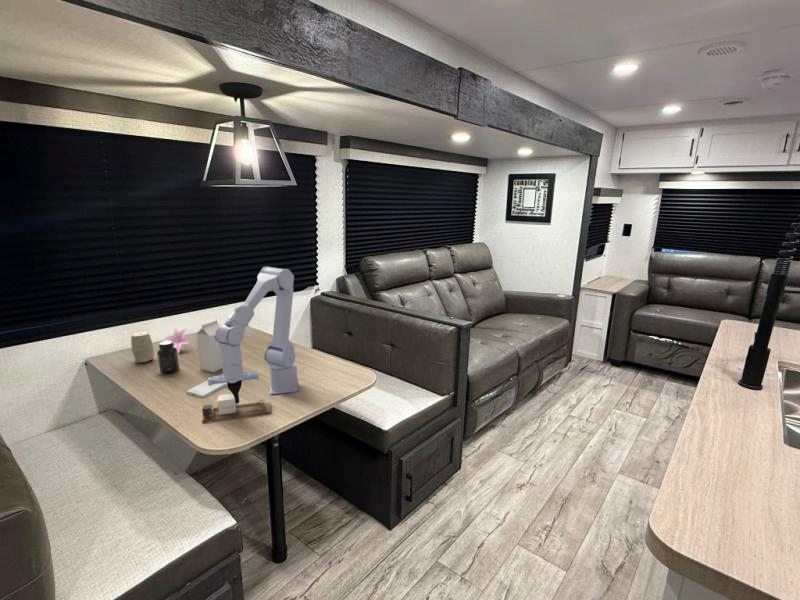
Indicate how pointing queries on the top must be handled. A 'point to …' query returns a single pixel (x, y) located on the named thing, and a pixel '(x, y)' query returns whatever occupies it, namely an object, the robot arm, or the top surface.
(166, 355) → the supplement bottle
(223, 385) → the hard drive
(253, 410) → the cord rail
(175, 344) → the lily
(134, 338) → the cream barrel-shaped cylinder
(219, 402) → the white rounded cube
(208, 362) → the milk carton
